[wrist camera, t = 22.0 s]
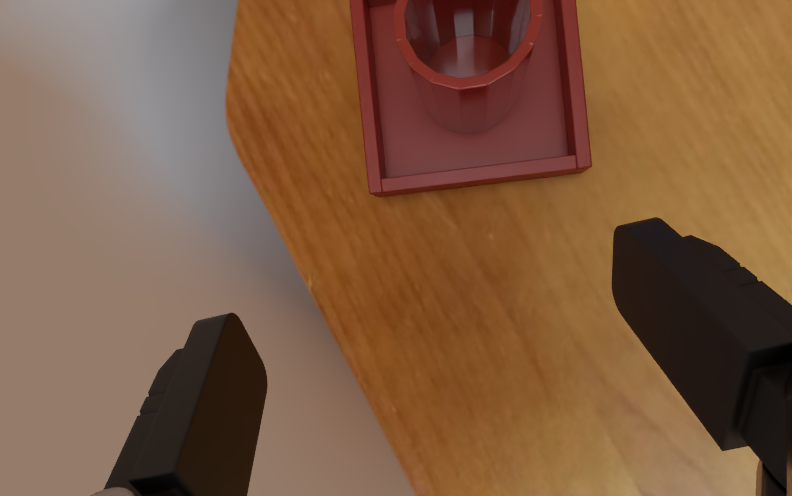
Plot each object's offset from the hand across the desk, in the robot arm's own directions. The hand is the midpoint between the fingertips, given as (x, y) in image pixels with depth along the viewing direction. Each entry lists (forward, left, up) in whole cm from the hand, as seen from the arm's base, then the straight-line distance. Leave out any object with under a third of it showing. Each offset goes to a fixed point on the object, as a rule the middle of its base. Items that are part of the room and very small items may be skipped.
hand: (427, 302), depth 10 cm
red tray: (+2, +11, -20) cm, 23 cm away
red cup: (+2, +11, -19) cm, 22 cm away
